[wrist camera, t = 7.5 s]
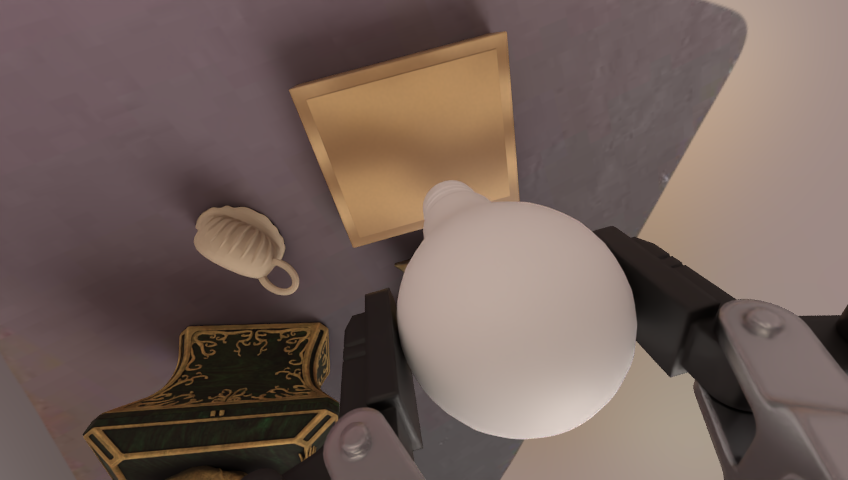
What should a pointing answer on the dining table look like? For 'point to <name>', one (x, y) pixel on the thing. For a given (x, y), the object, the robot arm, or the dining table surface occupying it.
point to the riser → (412, 133)
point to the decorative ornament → (243, 244)
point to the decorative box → (225, 407)
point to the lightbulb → (514, 315)
